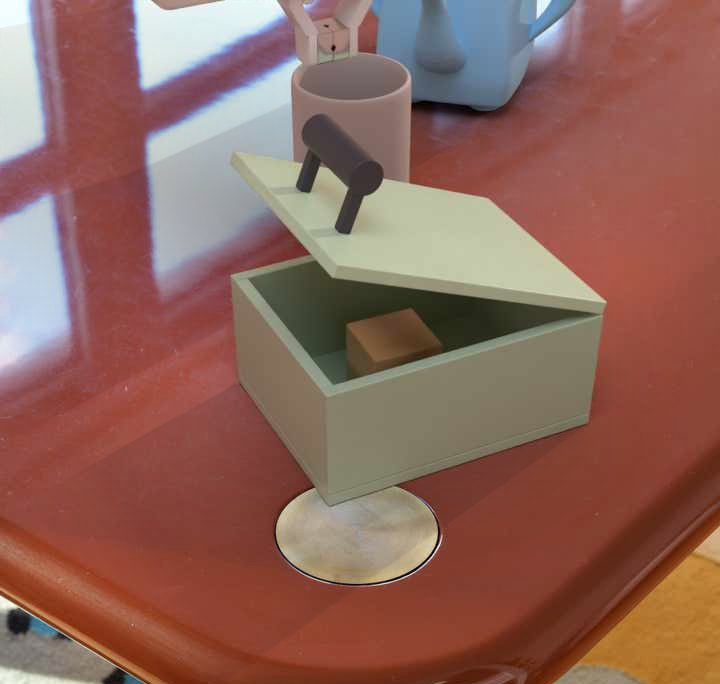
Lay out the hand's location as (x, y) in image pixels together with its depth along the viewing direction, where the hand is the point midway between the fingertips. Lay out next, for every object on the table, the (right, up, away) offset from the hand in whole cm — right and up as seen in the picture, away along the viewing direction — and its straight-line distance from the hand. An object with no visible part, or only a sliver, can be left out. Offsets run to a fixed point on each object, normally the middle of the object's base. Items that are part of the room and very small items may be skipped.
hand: (326, 58), depth 73 cm
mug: (+1, -1, +30) cm, 30 cm away
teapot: (+10, +13, +45) cm, 47 cm away
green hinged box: (+5, -17, +12) cm, 21 cm away
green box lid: (+5, -9, +4) cm, 11 cm away
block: (+4, -17, +11) cm, 20 cm away
